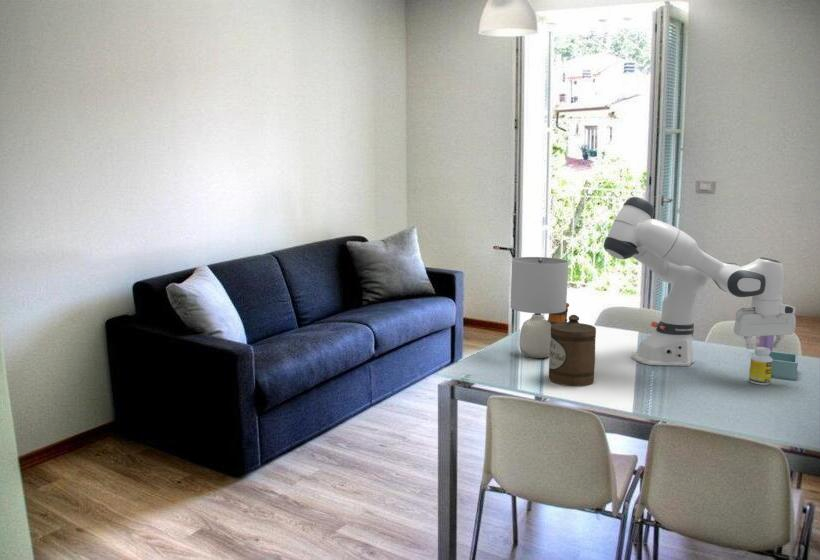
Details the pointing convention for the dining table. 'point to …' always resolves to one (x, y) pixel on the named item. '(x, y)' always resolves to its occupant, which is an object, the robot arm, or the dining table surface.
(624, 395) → the dining table surface
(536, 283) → the lamp
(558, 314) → the mug
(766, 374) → the pill bottle
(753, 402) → the dining table surface
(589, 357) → the wooden container
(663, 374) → the dining table surface
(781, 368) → the caddy
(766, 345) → the beverage can
